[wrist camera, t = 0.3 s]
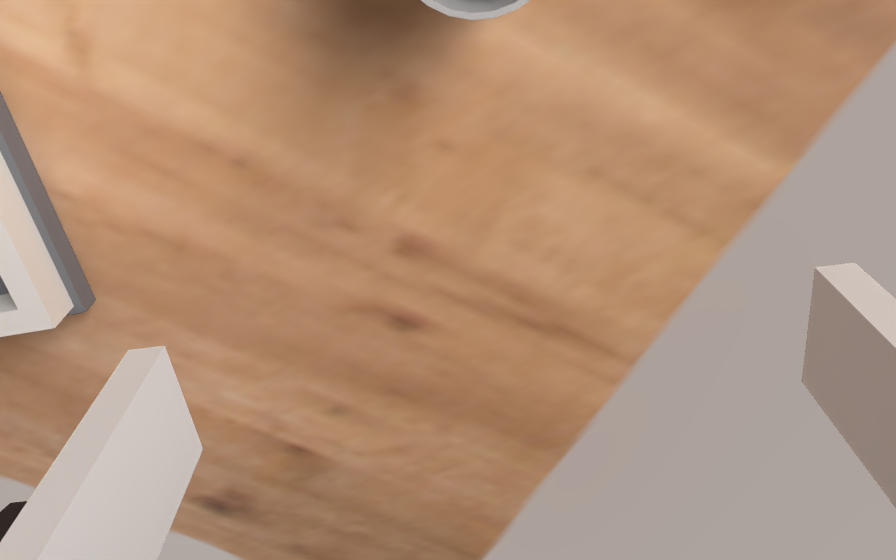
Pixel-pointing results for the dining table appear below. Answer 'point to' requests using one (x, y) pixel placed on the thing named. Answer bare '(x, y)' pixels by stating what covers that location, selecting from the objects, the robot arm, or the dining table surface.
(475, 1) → the cup
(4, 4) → the dining table surface
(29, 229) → the socket dock
